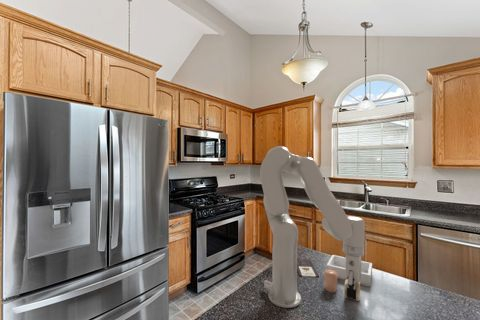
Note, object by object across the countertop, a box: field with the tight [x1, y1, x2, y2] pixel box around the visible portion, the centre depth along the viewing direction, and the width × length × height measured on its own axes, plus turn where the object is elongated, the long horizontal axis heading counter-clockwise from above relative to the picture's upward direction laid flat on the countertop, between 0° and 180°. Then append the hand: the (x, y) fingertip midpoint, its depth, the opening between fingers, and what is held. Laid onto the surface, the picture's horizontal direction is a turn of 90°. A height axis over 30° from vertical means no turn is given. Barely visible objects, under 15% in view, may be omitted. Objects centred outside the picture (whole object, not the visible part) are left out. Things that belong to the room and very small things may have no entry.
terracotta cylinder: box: [324, 269, 338, 293], centre depth 96 cm, size 5×5×7 cm
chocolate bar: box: [297, 258, 320, 278], centre depth 115 cm, size 9×1×18 cm
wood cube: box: [343, 279, 361, 302], centre depth 89 cm, size 5×5×5 cm
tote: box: [326, 254, 373, 288], centre depth 108 cm, size 18×14×5 cm
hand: (352, 294), depth 89 cm, fingers closed on wood cube, 4 cm apart
